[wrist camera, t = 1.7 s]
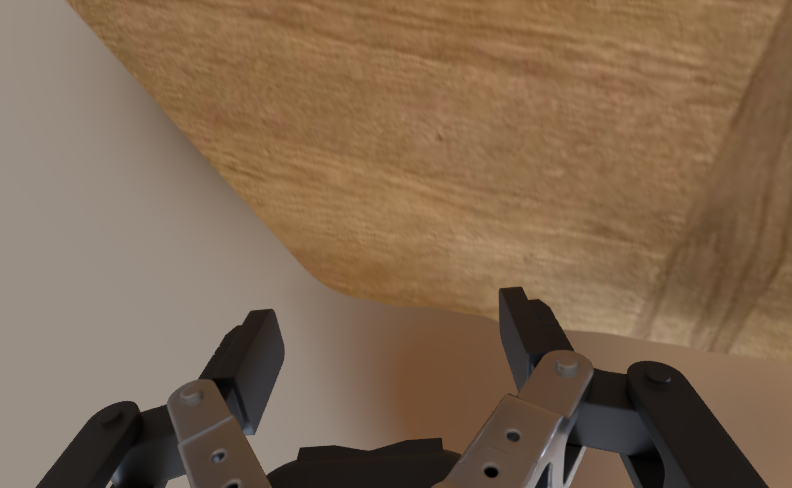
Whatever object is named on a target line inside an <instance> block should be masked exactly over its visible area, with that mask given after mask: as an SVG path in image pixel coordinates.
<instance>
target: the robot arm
mask: <svg viewBox="0 0 792 488" xmlns="http://www.w3.org/2000/svg"><path fill="white" fill-rule="evenodd" d="M499 321H500V335H501V340H502V344H503V347H504V350H505V353H506V356H507V359H508V362H509V365H510V369H511V371H512V374H513V378H514V381H515V384H516V387H517V390H518V394H517V396H514V395H512V394H506V395H505V396H504V397H503V398H502V400H501V401H500V402H499V404H498V405H497V407H496V408H495V410H494V411H493V412H492V414H491V415H490V417H489V418H488V419H487V421H486V422H485V424H484V425H483V426H482V428H481V429H480V431H479V432H478V433H477V435H476V436H475V438H474V439H473V440H472V442H471V443H470V445H469V446H468V448H467V449H466V450H465V452H464V453H463V455H462V454H459V453H456V452H453V451H449V450H443V446H442V438H433V439H418V440H406V441H402V442H399V443H395V444H392V445H388V446H385V447H382V448H378V449H375V450H371V451H366V450H359V449H353V448H347V447H341V446H335V445H332V446H317V447H303V448H300V449H299V453H298V457H297V460H295V461H292V462H289V463H287V464H284V465H282V466H281V467H279V468H277V469H275V470H274V471H272V472H270V473H269V474H268V475H265V473H264V471H263V469H262V467H261V465H260V463H259V461H258V459H257V458H256V456H255V454H254V452H253V450H252V448H251V446H250V444H249V442H248V440H247V438H246V437H245V435H255V432H256V430H257V428H258V425H259V423H260V420H261V418H262V415H263V412H264V410H265V407H266V405H267V402H268V400H269V397H270V394H271V392H272V389H273V387H274V384H275V382H276V379H277V376H278V374H279V371H280V369H281V366H282V364H283V361H284V343H283V340H282V336H281V332H280V329H279V325H278V322H277V318H276V314H275V312H274V310H273V309H264V310H254V311H250V313H249V314H248V316H247V317H246V319H245V321H244V322H243V324H242V325H239V326H236V327H235V328H234V329H232V330H231V331H230V332H229V333H228V334H226V335H225V337H224V339H223V340H222V342H221V344H220V347H218V348H217V350H216V351H215V355H213V356H212V358H211V359H210V361H209V362H208V364H207V366H206V367H205V369H204V371H203V372H202V374H201V375H200V377H199V379H198V380H195V381H192V382H189V383H187V384H185V385H183V386H181V387H180V388H178V389H177V390H176V391H175V392H174V393H173V394H172V395H171V396H170V397H169V399H168V401H167V404H166V405H164V406H160V407H157V408H153V409H150V410H147V411H144V412H140V410H139V408H138V406H137V404H136V403H134V402H132V401H122V402H118V403H115V404H112V405H110V406H107V407H105V408H104V409H102V410H100V411H99V412H97V413H96V414H95V415H94V416H92V417H91V418H90V419H89V420H88V422H87V423H86V424H85V425H84V427H83V428H82V429H81V430H80V432H79V433H78V434H77V435H76V437H75V438H74V439H73V441H72V442H71V443H70V444H69V446H68V447H67V448H66V450H65V451H64V452H63V453H62V455H61V456H60V457H59V458H58V460H57V461H56V463H55V464H54V465H53V466H52V467H51V469H50V470H49V471H48V472H47V474H46V475H45V476H44V478H43V479H42V480H41V481H40V483H39V484H38V485H37V486H36V488H105V487H106V485H107V484H108V482H109V481H110V479H111V481H112V483H113V484H112V485H111V487H110V488H165V486H166V484H167V482H168V480H171V479H173V478H176V477H179V476H182V475H185V474H187V477H188V480H189V484H190V487H191V488H569V486H570V483H571V481H572V479H573V477H574V474H575V472H576V470H577V467H578V465H579V463H580V461H581V458H582V456H583V454H584V452H585V449H586V447H591V448H595V449H600V450H605V451H610V452H615V453H619V454H620V457H621V459H622V461H623V463H624V465H625V468H626V470H627V472H628V474H629V476H630V479H631V481H632V483H633V485H634V487H635V488H769V487H768V486H767V485H766V483H765V482H764V481H763V479H762V478H761V477H760V476H759V474H758V473H757V471H756V470H755V469H754V467H753V466H752V465H751V464H750V462H749V461H748V460H747V458H746V457H745V456H744V454H743V453H742V452H741V450H740V449H739V448H738V446H737V445H736V444H735V442H734V441H733V440H732V438H731V437H730V436H729V434H727V432H726V431H725V429H724V428H723V427H722V425H721V424H720V423H719V421H718V420H717V419H716V417H715V416H714V415H713V414H712V412H711V411H710V409H709V408H708V407H707V405H706V404H705V403H704V401H703V400H702V399H701V398H700V396H699V395H698V394H697V393H696V391H695V390H694V388H693V387H692V386H691V384H690V383H689V382H688V380H687V379H686V378H685V377H684V375H683V374H682V373H680V372H679V371H678V370H676V369H675V368H673V367H671V366H668V365H666V364H663V363H659V362H654V361H640V362H637V363H634V364H632V365H631V366H630V367H629V368H628V370H627V374H621V373H614V372H607V371H602V370H599V369H596V368H593V365H592V363H591V362H590V361H589V360H588V359H587V358H586V357H585V356H583V355H581V354H579V353H576V352H575V351H574V350H573V348H572V346H571V344H570V342H569V341H568V339H567V337H566V335H565V334H564V332H563V330H562V328H561V326H559V323H558V321H557V319H556V318H555V316H554V314H553V312H552V310H551V308H550V307H549V306H548V305H546V304H545V303H543V302H542V301H541V300H539V299H536V300H528V299H527V296H526V294H525V292H524V290H523V288H522V287H510V288H500V289H499Z"/></svg>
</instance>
